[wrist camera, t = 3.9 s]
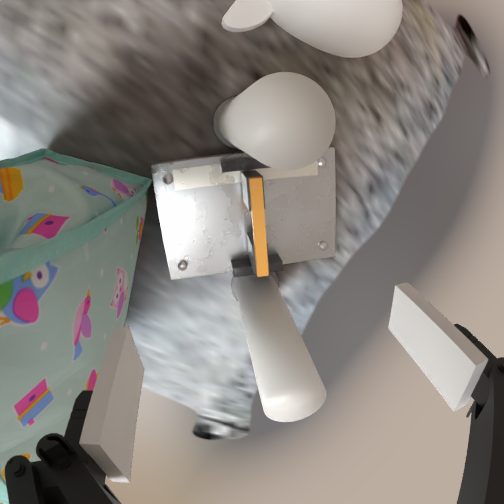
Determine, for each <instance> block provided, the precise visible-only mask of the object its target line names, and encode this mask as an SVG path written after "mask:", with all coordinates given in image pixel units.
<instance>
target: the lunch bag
mask: <svg viewBox="0 0 504 504" xmlns="http://www.w3.org/2000/svg"><path fill="white" fill-rule="evenodd" d="M151 184H152V180H151V179H150V178H147V177H143V176H139V175H135V174H132V173H129V172H126V171H123V170H119V169H115V168H112V167H109V166H105V165H101V164H98V163H92V162H88V161H84V160H81V159H78V158H75V157H71V156H67V155H63V154H62V155H61V154H58V153H56V152H54V151H51V150H48V149H44V148H43V149H39V150H37V151H34V152H31V153H28V154H25V155H22V156H19V157H17V158H13V159H5V160H1V161H0V502H2V503H4V504H9V500H8V493H7V487H6V479H5V465H6V463H7V461H8V460H9V459H10V458H11V457H13V456H16V455H22V456H25V457H26V458H27V459H28V460H29V461H30V462H35V461H41V459H40V458H39V457H38V456H37V454H36V446H37V443H38V442H39V440H40V439H41V438H42V437H43V436H45V435H47V434H50V433H58V434H60V435H62V436H63V437H64V435H65V431H66V428H67V425H68V421H69V419H70V415H71V412H72V411H73V409H72V408H73V405H74V402H75V399H76V398H77V397H78V395H79V394H80V393H81V392H82V390H94V386H95V383H96V380H97V377H98V373H99V370H100V367H101V364H102V361H103V358H104V355H105V352H106V349H107V346H108V343H109V340H110V337H111V334H112V331H113V329H114V328H115V327H124V324H125V320H126V316H127V311H128V305H129V300H130V294H131V289H132V284H133V278H134V272H135V267H136V261H137V256H138V250H139V245H140V241H141V236H142V231H143V226H144V221H145V215H146V209H147V199H148V188H149V187H150V186H151Z"/></svg>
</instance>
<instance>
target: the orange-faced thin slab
mask: <svg viewBox="0 0 504 504" xmlns="http://www.w3.org/2000/svg"><path fill="white" fill-rule="evenodd" d="M241 179H242V190H243V201H244V203H245V204H246V206H247V208H248V210H249V211H251V216H252V228H253V232H246V234H247V244H248V255H249V260H250V263H251V266H252V269H253V271H254V274H257V276H258V277H262V276H268V275H269V272H270V270H269V255H268V243H267V241H266V227H265V213H264V209H265V197H264V183H263V176H262V175H261V174H260V173H258V172H257V171H256V170H253V171H243V172H241Z"/></svg>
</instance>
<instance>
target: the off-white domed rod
mask: <svg viewBox="0 0 504 504" xmlns="http://www.w3.org/2000/svg"><path fill="white" fill-rule="evenodd" d="M335 126H336V119H335V112H334V108H333V105H332V103H331V100H330V99H329V97H328V95H327V94H326V92H325V91H324V90H323V89H322V88H321V87H320V86H319V85H318V84H317V83H316V82H315V81H313V80H311V79H310V78H308V77H306V76H304V75H301V74H298V73H292V72H277V73H273V74H269V75H267V76H264V77H262V78H260V79H259V80H257V81H256V82H255V83H253V84H252V85H251V86H249V87H248V88H247V89H245V90H244V91H243V92H242V93H240V94H239V95H238V96H235V97H231V98H229V99H227V100H225V101H224V102H223V103H222V104H221V105H220V106H219V107H218V108H217V110H216V112H215V114H214V118H213V127H214V131H215V134H216V135H217V137H218V138H219V140H220V141H221V142H222V143H224V144H225V145H227V146H229V147H231V148H234V149H241V150H242V151H244V152H245V153H247V154H248V155H250V156H251V157H253V158H255V159H256V160H258V161H259V162H261V163H263V164H264V165H266V166H269V167H271V168H275V169H279V170H295V169H300V168H303V167H306V166H308V165H310V164H312V163H314V162H315V161H316V160H318V159H319V158H320V157H321V156H322V155H323V154H324V153H325V152H326V150H327V149H328V147H329V146H330V144H331V142H332V139H333V136H334V132H335Z"/></svg>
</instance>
